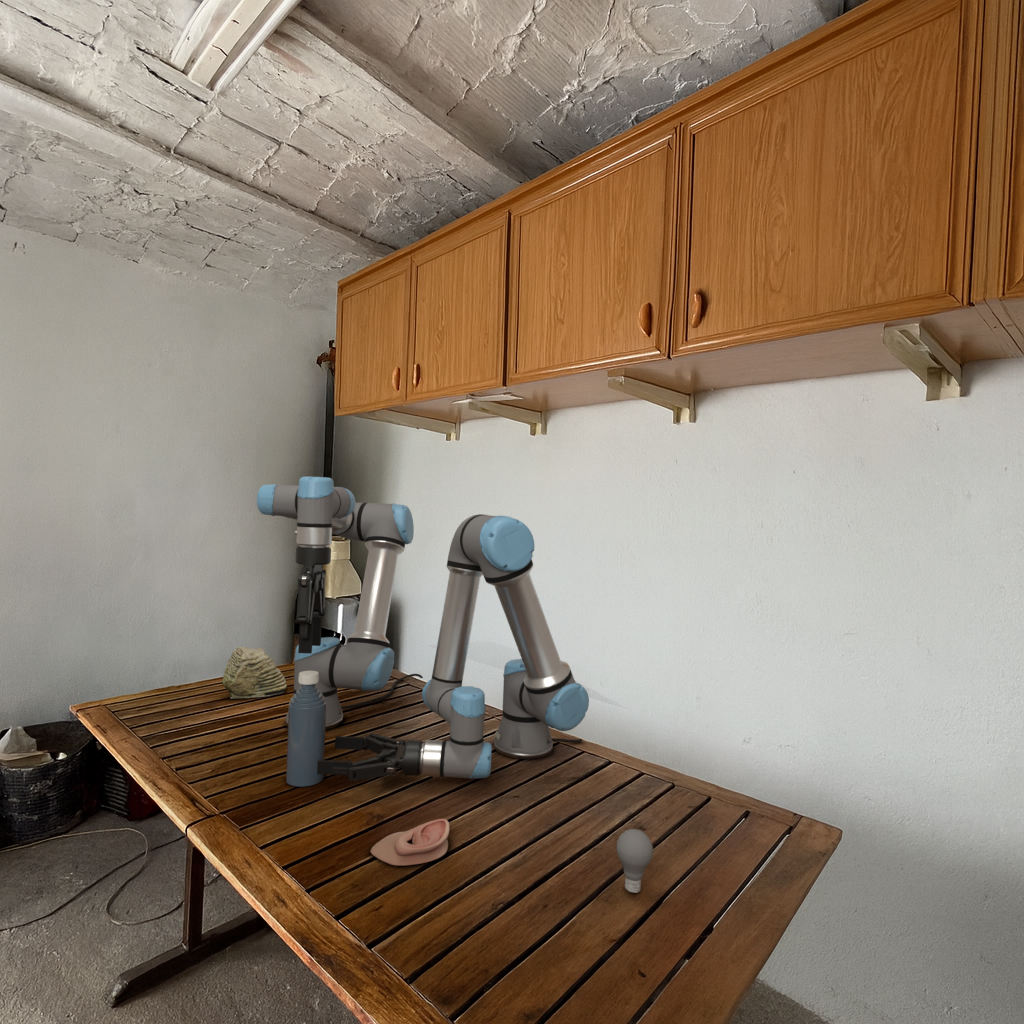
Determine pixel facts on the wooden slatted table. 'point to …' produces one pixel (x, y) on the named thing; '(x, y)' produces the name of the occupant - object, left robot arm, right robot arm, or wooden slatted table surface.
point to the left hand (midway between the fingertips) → (309, 648)
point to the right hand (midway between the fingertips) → (326, 754)
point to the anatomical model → (414, 844)
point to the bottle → (305, 736)
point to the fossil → (252, 674)
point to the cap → (308, 677)
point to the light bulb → (634, 857)
